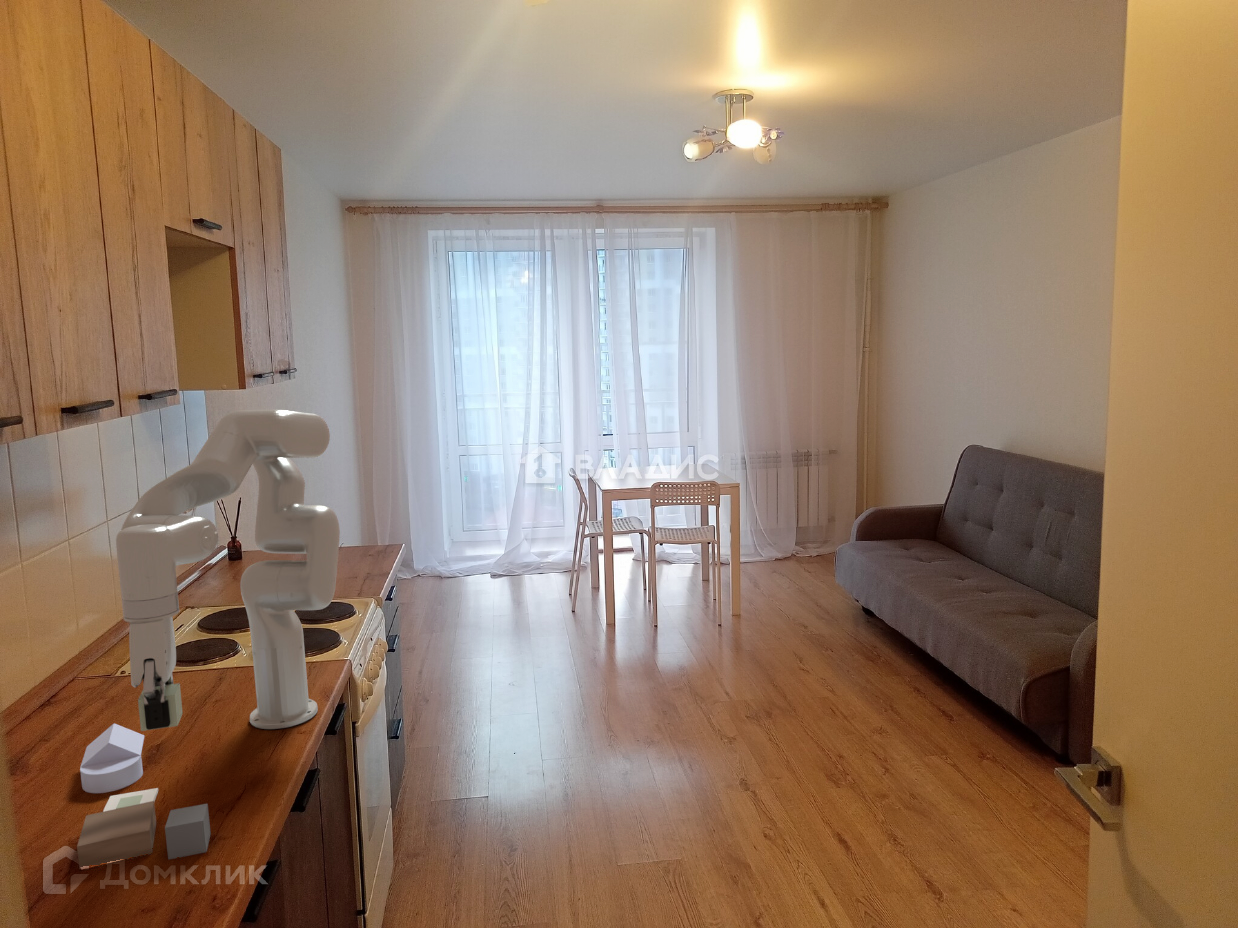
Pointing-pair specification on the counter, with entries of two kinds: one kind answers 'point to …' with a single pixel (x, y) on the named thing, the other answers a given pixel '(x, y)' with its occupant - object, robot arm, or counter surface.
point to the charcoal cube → (187, 831)
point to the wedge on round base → (112, 760)
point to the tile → (131, 799)
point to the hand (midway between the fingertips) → (161, 718)
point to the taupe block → (117, 834)
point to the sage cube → (174, 705)
